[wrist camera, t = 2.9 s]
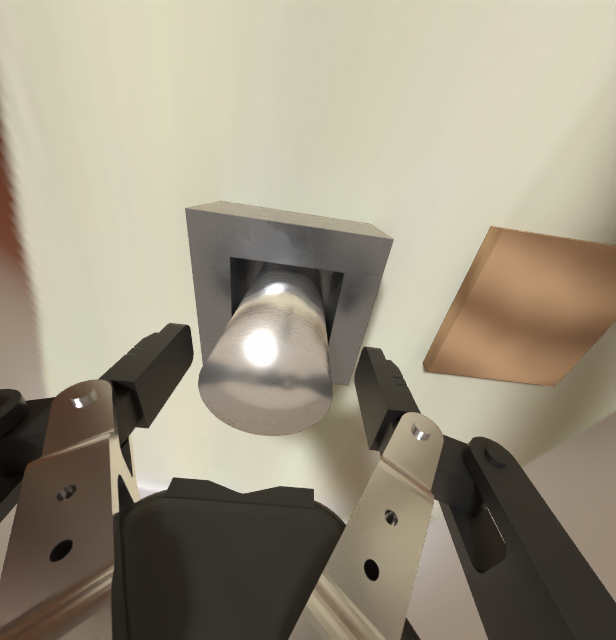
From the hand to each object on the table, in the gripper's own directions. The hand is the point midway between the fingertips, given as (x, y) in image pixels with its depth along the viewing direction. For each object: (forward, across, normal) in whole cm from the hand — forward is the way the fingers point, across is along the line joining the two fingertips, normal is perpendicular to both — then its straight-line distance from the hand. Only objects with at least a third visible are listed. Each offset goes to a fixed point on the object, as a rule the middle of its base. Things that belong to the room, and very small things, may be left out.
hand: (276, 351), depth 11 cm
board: (+8, -19, 0) cm, 21 cm away
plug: (+7, 0, 0) cm, 7 cm away
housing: (+8, 0, 0) cm, 8 cm away
